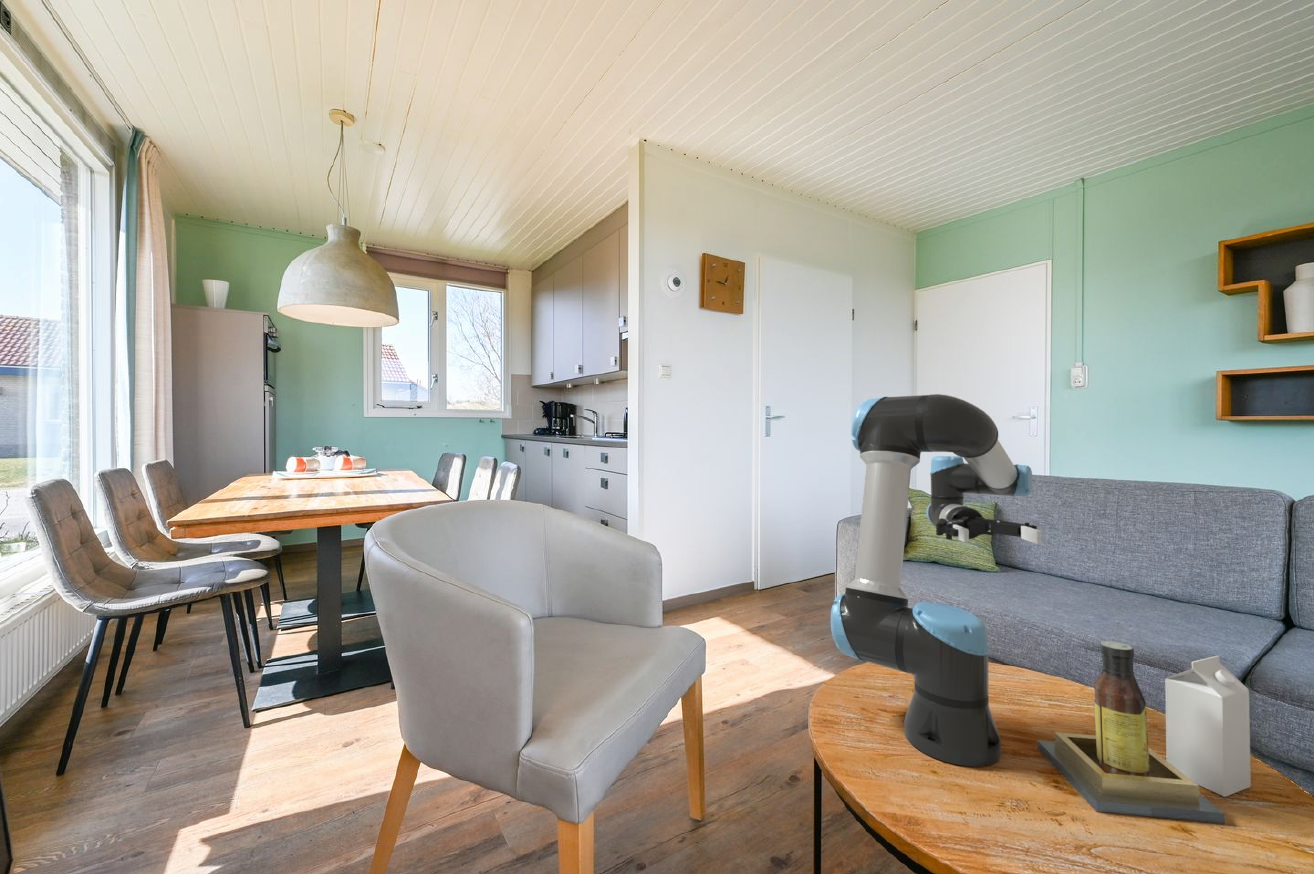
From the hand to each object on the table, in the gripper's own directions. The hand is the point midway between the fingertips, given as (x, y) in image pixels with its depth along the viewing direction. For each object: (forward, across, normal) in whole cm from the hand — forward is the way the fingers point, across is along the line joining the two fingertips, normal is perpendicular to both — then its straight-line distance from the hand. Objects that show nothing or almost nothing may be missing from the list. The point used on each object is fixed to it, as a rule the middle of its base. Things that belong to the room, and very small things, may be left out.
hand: (1002, 536), depth 110 cm
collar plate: (+25, -6, -34) cm, 42 cm away
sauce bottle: (+25, -6, -33) cm, 41 cm away
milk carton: (+22, -20, -34) cm, 45 cm away
